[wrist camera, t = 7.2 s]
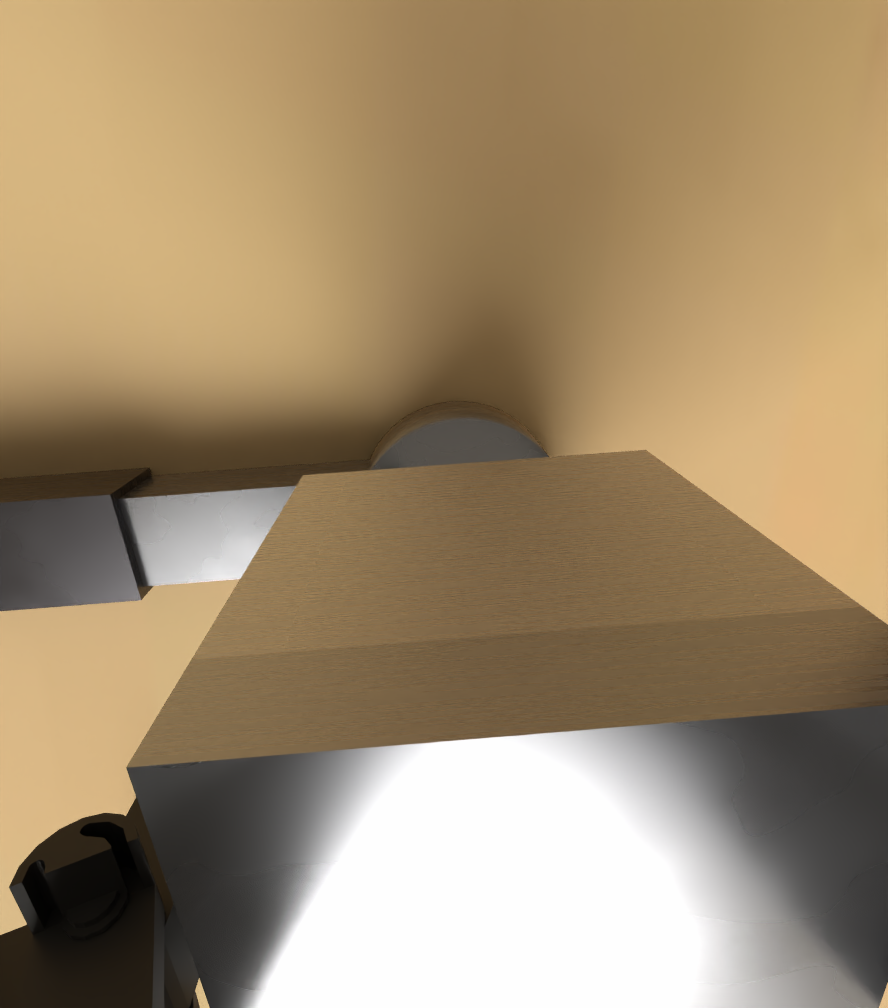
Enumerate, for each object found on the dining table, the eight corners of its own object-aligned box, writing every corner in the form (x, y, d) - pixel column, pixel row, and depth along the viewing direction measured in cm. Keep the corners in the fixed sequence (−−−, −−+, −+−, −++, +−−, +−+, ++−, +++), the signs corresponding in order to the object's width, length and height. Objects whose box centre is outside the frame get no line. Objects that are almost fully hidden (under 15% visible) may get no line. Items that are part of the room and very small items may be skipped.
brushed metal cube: (346, 744, 15) (275, 1197, 8) (302, 475, 12) (126, 767, 5) (627, 720, 15) (830, 1144, 8) (645, 449, 12) (987, 696, 5)
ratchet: (-23, 614, 22) (-245, 781, 15) (-96, 440, 20) (-409, 536, 12) (549, 570, 23) (615, 710, 15) (550, 394, 20) (630, 459, 13)
